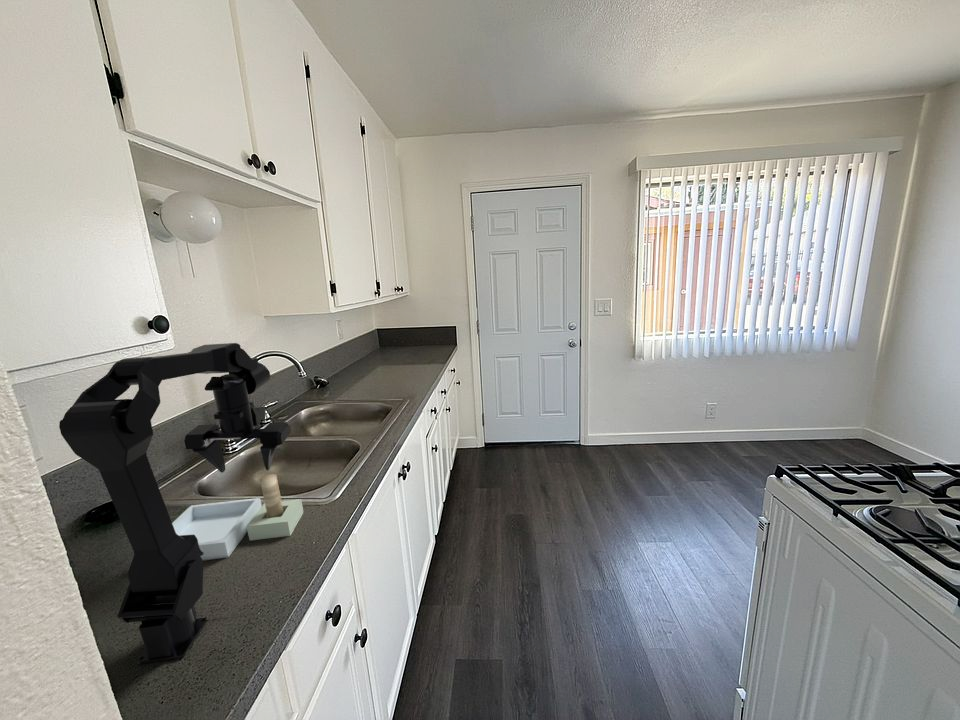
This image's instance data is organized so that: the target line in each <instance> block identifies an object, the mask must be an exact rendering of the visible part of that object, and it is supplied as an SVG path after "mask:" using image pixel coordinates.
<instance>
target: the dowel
mask: <svg viewBox="0 0 960 720" xmlns="http://www.w3.org/2000/svg"><path fill="white" fill-rule="evenodd" d="M259 482H260V487H261V492H262V496H263V501H264V502H263V503H265V506H266V511H267V516H268V518H274V517H281V516H282V515H283V513H284V511H283V506H282V501H283V500H282V497H281V492H280V487H279V486H280V485H279V481H278V476H277V474H276V473H275V474H274V473H269V474H267V475H264V476H261V478H260V480H259Z"/></svg>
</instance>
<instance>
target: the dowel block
mask: <svg viewBox="0 0 960 720" xmlns="http://www.w3.org/2000/svg"><path fill="white" fill-rule="evenodd" d="M281 501H282V506H283V511H284V513H283V515H282V516H281V517H274V518H268V516H267V511H266V506H265V502H263V504H261V505H262V507H261V508H260V509H259V511H258V512H257V513H256V514H255V516H254V517H253V518H252V520H251V521H250V522H249V524H248V525H247V531H248V532H247V536H248V540H249V541H256V540H265V539H275V538H283V537H291V535H292V533H293V532H294V530H295V529H296V527H297V524H298V522H299V521H300V520H301V518H302V516H303V514H304V508H303V502H302V499H301V498H300V499H292V500H291V499H290V500H281Z"/></svg>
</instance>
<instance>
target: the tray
mask: <svg viewBox="0 0 960 720" xmlns="http://www.w3.org/2000/svg"><path fill="white" fill-rule="evenodd" d="M262 505H263V504H262V501H261V498H260V497H257V498H256V497H255V498H249V499H238V500H237V499H236V500H228V501H220V502H210V503H201V504H194V505H193V504H191V505H190V506H188V507H187V508H186V510H185V511H183V512H182V513H181V514H179V516H178V517H177V518H176V519H175V520H174V521H173V522H172V524H173V527H174V530H175V532H176V534H177V535H179V536H180V535H195V536H196V538H197V539H198V545H199V548H200V550H201V551H202V552H203V555H202V556H201V558H202V561H209V560H216V559H218V560H219V559H227V558H229V557H230V556H231V554H232V553H233V552H234V551H235V550H236V548H237V546H238V545H239V544H240V542H241V541H242V540H243V538H245V536H246V534H248V531H247V525H248V524H249V522H250V521H251V520H252V518H253V517H254V516H255V514H256V513H257V512H258V511H259V509H260V508H261V507H262Z"/></svg>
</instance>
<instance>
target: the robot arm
mask: <svg viewBox="0 0 960 720" xmlns="http://www.w3.org/2000/svg"><path fill="white" fill-rule="evenodd" d="M241 347H242V346H241V345H240V344H239V343H238V342H231V343H229V342H228V343H214V344H213V343H212V344H211V343H210V344H203V345H199V346H198V347H197V346H196V347H194V348H192V349H191V351H187V352H185V353H184V352H183V353H182V352H181V353H175V354H166V355H158V356H144V357H143V356H142V357H141V356H140V357H128V358H127V357H126V358H122V359H120V360H118V361H116V362H114V363H113V365H112V366H111V368H110V369H109V371H108V372H107V373H106V375H104V376H102V377H101V378H100V379H98V380H97V381H96V382H94V383H93V384H91V385H90V386H89V387H87V389H85V390H83V391H82V392H81V393H80V395H79V396H78V398H77V399H76V400H75V401H74V402H73V405H72V406H71V407H70V408H69V409H68V410H66V412H65V414H64V416H63V417H62V419H60V421H59V426H58V428H59V431H60V435H61V436H62V438H63V439H64V441H65V443H66V444H67V445H68V446H69V447H70V449H71V450H72V452H73V453H74V454H75V455H76V456H78V457H79V458H80V459H82V460H84V461H85V462H87V463H89V464H90V465H91V466H93V467H94V468H96V469H97V470H98V472H99V473H100V475H101V478H102V480H103V483H104V485H105V488H106V490H107V492H108V495H109V497H110V499H111V501H112V505H113V507H114V509H115V510H116V513H117V516H118V518H119V520H120V523H121V525H122V527H123V529H124V532H125V534H126V536H127V539H128V541H129V543H130V546H131V548H132V550H133V555H132V558H131V561H130V562H129V566H128V567H127V577H128V582H129V585H128V587H127V590H126V592H125V595H124V597H123V600H122V603H121V606H120V608H119V611H118V613H117V619H118V620H120V621H121V622H122V623H123V624H129V623H135V622H139V623H140V625H139V627H138V630H139V633H140V636H141V639H142V642H143V645H144V648H145V649H144V650H143V652H142V653H141V654H140V655H139V657H138V658H137V664H139V665H140V664H146V663H147V664H148V663H153V662H160V661H168V660H174V659H176V660H177V659H181V658H183V657H184V656H185V655H186V654H187V653H188V651H189V650H190V648H191V646H192V645H193V644H194V642H195V641H196V639H197V637H198V636H199V635H200V634H201V632H202V630H203V628H205V626H206V624H207V622H208V617H207V616H206V617H198V614H197V611H196V608H195V604H196V603H197V602H198V601H199V599H200V598H201V597H202V595H203V594H204V593H203V590H204V589H203V588H204V562H203V560H202V558H201V556H202V555H203V552H202V551H201V550H200V548H199V545H198V539H197V538H196V536H195V535H180V536H179V535H177V534H176V532H175V530H174V527H173V524H172V523H173V522H172V519H171V516H170V514H169V511H168V509H167V506H166V503H165V501H164V498H163V495H162V492H161V490H160V487H159V485H158V483H157V480H156V477H155V475H154V472H153V469H152V467H151V464H150V462H149V459H148V456H147V452H148V449H149V446H150V444H151V443H152V442H151V441H152V438H153V436H154V430H153V426H152V418H153V417H154V415H155V414H156V412H157V410H158V409H159V406H160V404H161V396H160V388H159V387H160V384H161V383H162V381H164V380H170V379H176V378H181V377H186V376H190V375H196V374H200V375H201V374H206V375H208V374H210V375H211V374H212V375H213V374H222V375H221V376H211V377H210V380H209V381H208V382H207V383H206V384H205V386H204V391H207V392H208V391H209V392H210V391H212V392H213V393H212V394H213V398H214V402H215V406H216V412H215V413H214V414H213V417H214V420H218V421H219V425H217V424H214V423H213V424H198V425H197V426H195V427H194V428H193V429H191V430H190V431H189V432H188V433H186V435H184V437H183V440H182V442H183V446H184V449H185V450H191V451H192V453H197V454H198V455H200V456H201V457H203V458H204V459H205V460H206V461H207V462H209V463H210V464H211V465H212V466H213V467H214V468H216V470H217V471H218V472H220V473H224V472H225V471H226V462H225V457H224V453H223V450H222V440H223V441H224V440H227V441H229V440H248V439H259V442H260V444H261V446H260V447H259V449H260V453H261V457H262V461H263V465H264V467H265V470H266V471H269V470H270V469H271V466H272V462H273V458H274V455H275V451H276V449H277V447H278V446H280V445H281V446H282V445H283V443H284V442H285V441H286V440H287V438H288V437H289V436H290V435H291V434H292V431H291V425H290V424H289V423H288V422H287V421H274V422H272V421H271V422H269V423H268V424H267V425H266V426H265V427H264V428H255V426H259V425H260V422H261V421H265V420H266V406H265V405H261V406H257V405H256V406H255V404H254V402H251V401H250V398H249V395H251V394H254V393H255V392H256V391H258V390H259V389H261V388H262V387H263V386H265V385H266V384H267V383H268V382H270V379H271V372H270V370H269V369H268V367H267V366H266V365H264V364H263V363H261V362H259V360H258V358H257V357H251V356H250V355H249V354H248V353H247V352H246V351H245V349H243V348H241ZM227 373H228V374H227ZM131 386H137V387H138V391H136V393H135V395H134V397H133V398H122V399H119V397H120V396H122V395H123V394H124V393H125V392H127V391H128V390H129V389H130V387H131Z"/></svg>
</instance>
